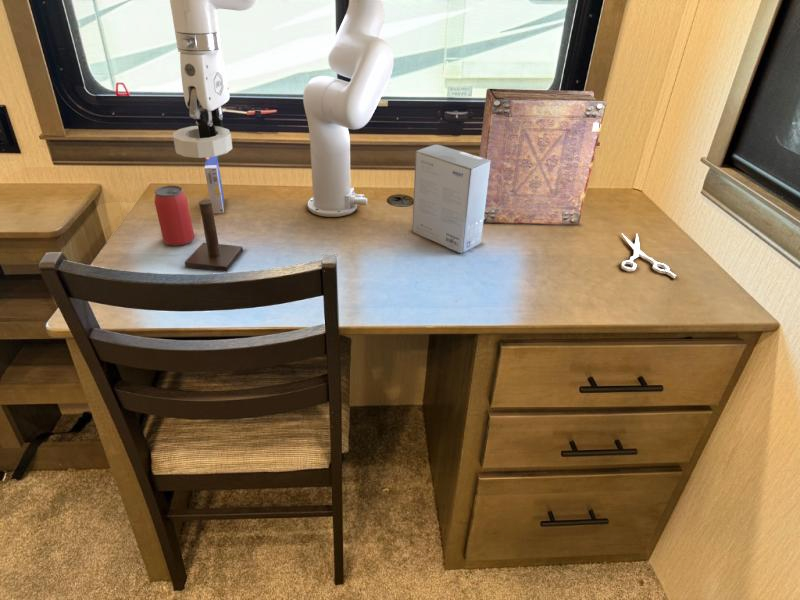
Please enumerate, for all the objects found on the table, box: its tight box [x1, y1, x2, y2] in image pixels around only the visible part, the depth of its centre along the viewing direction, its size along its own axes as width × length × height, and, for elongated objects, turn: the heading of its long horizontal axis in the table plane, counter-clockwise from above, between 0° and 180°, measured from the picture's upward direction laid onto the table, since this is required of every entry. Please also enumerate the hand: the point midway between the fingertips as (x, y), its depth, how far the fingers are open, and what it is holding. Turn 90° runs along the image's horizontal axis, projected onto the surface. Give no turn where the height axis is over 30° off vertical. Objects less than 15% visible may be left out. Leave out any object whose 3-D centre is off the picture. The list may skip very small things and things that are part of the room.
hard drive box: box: [411, 143, 491, 254], centre depth 125 cm, size 16×8×20 cm, turn 47°
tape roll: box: [172, 125, 233, 159], centre depth 107 cm, size 10×10×3 cm
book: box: [478, 88, 607, 226], centre depth 133 cm, size 25×9×30 cm, turn 91°
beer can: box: [154, 185, 195, 247], centre depth 122 cm, size 7×7×12 cm
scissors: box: [620, 232, 677, 279], centre depth 127 cm, size 11×1×20 cm
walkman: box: [204, 156, 225, 214], centre depth 137 cm, size 8×3×12 cm, turn 13°
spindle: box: [184, 199, 244, 272], centre depth 115 cm, size 9×9×13 cm
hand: (212, 141), depth 111 cm, fingers closed on tape roll, 2 cm apart
